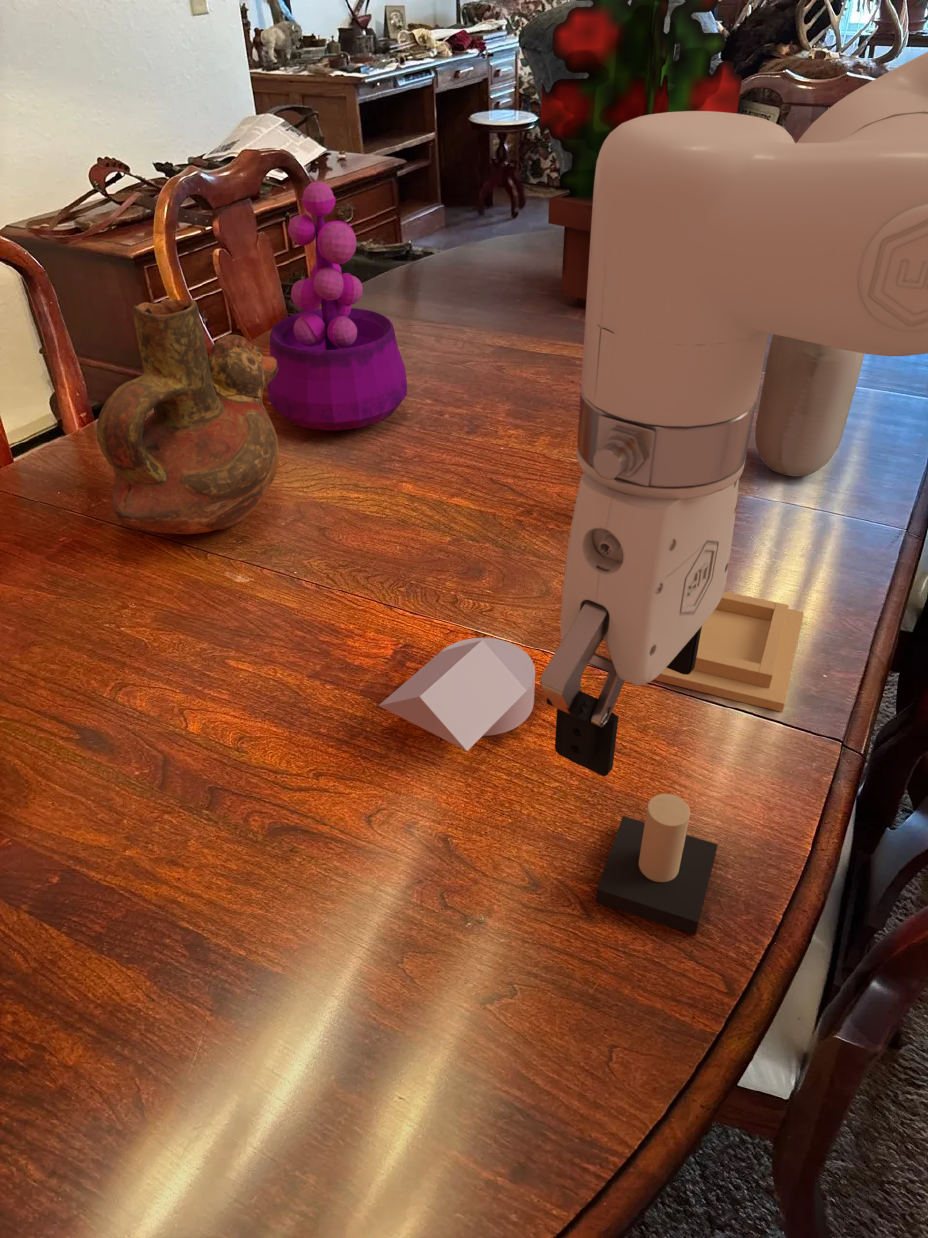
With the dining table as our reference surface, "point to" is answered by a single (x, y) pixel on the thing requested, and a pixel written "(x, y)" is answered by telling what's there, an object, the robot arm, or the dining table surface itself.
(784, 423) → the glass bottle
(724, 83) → the potted plant
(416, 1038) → the dining table surface
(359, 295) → the decorative plant
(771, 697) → the base pad
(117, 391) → the ceramic vessel
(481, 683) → the wedge on round base
